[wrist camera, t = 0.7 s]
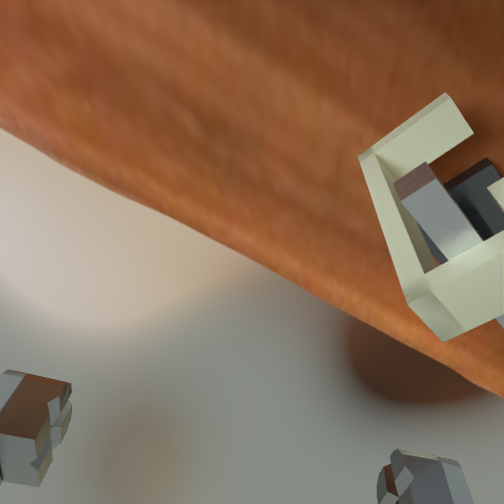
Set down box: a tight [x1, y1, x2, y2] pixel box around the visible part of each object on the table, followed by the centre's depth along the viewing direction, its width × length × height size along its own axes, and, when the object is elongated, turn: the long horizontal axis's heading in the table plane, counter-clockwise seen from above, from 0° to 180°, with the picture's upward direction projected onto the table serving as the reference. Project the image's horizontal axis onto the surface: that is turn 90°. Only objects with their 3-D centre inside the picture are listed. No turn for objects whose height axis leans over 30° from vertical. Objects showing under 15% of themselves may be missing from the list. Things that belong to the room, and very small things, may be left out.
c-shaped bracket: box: [358, 92, 504, 342], centre depth 32 cm, size 4×9×20 cm, turn 132°
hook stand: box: [393, 158, 504, 328], centre depth 37 cm, size 26×10×24 cm, turn 42°
